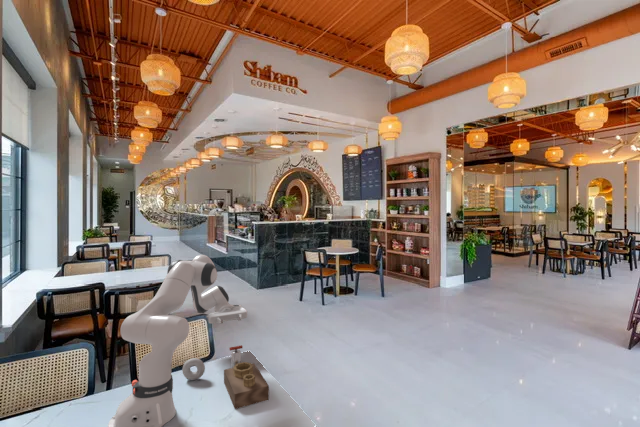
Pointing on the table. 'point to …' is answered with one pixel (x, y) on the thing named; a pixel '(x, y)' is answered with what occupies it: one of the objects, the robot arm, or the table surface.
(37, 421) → the table surface
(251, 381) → the manifold block
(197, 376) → the donut
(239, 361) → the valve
